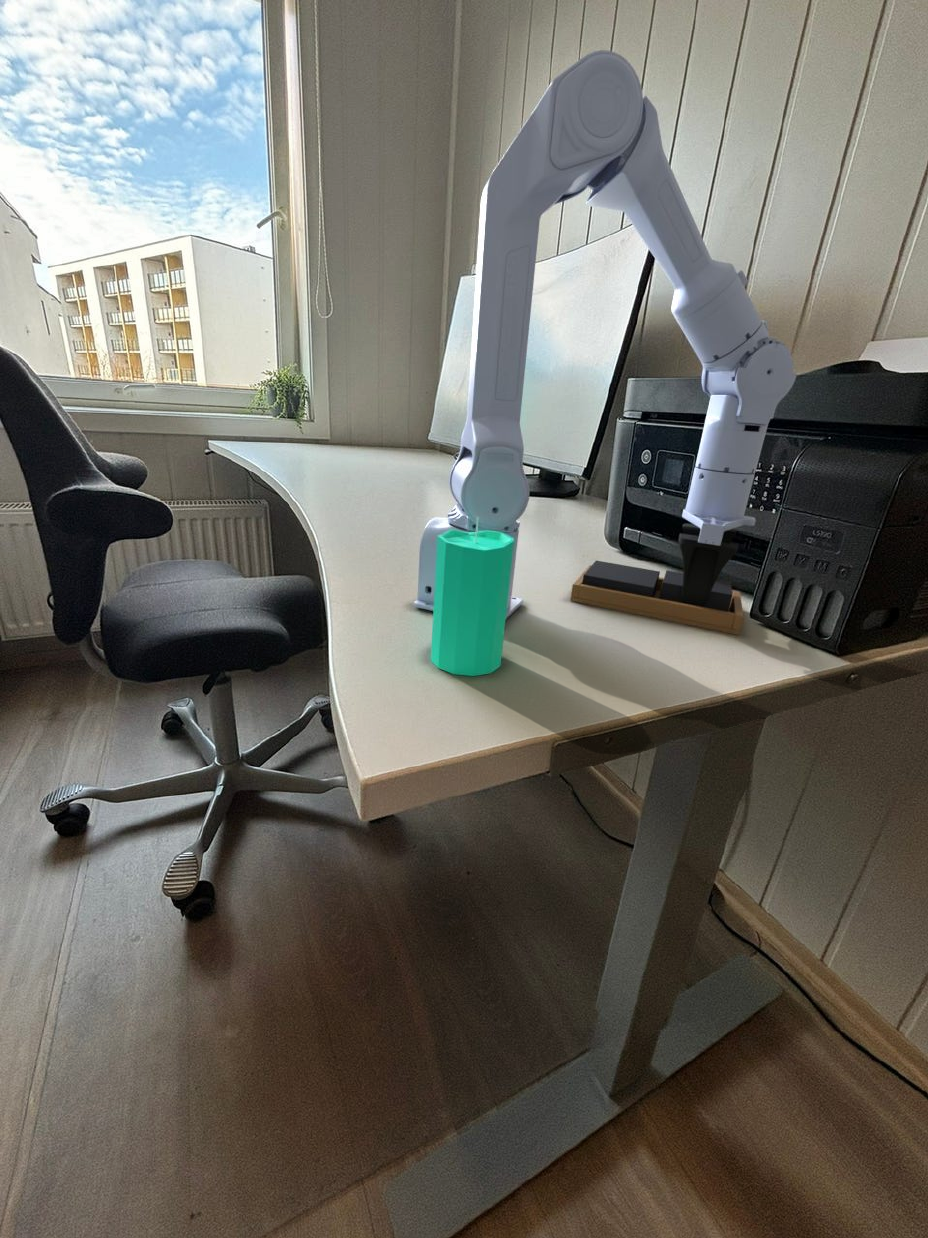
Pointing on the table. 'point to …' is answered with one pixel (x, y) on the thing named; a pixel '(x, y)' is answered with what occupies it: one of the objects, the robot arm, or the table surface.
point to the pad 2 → (715, 600)
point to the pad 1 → (622, 578)
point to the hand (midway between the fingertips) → (693, 595)
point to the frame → (661, 607)
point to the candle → (470, 600)
